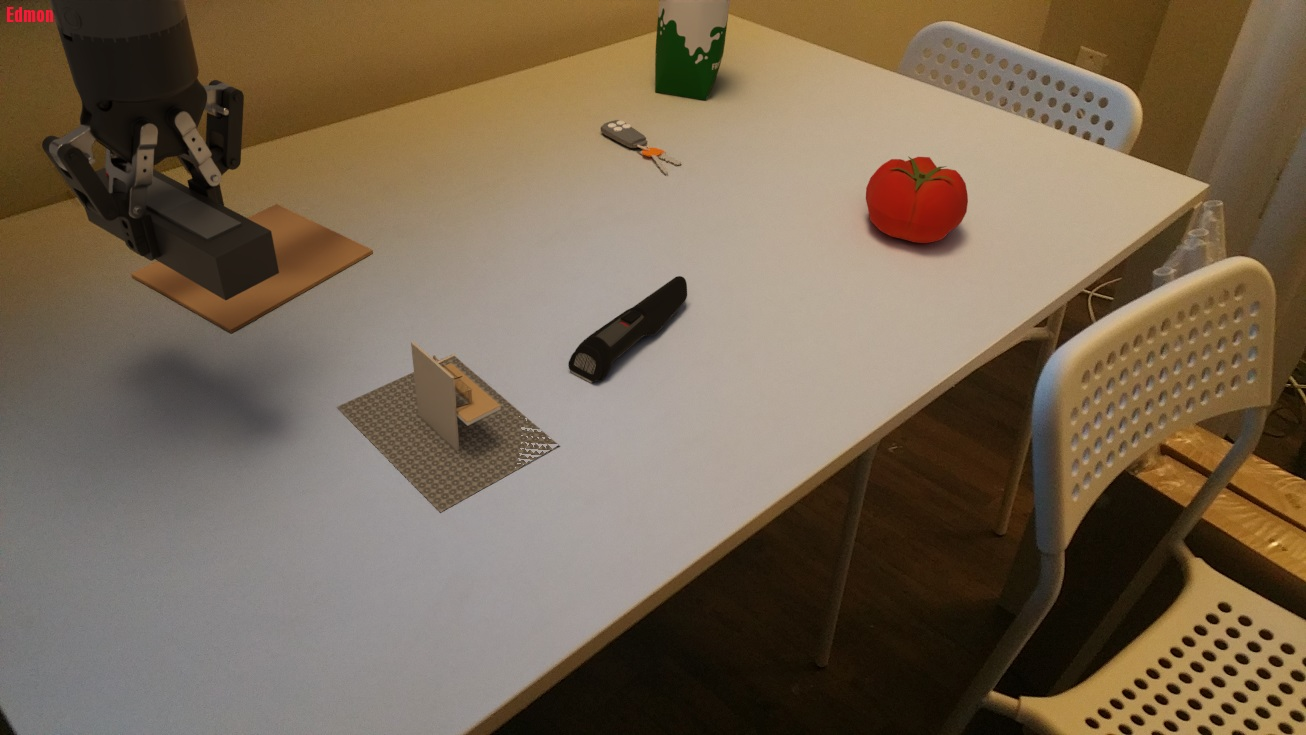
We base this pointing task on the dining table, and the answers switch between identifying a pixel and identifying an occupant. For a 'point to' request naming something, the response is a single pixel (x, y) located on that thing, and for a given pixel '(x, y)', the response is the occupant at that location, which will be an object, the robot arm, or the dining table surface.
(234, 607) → the dining table surface
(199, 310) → the cork mat
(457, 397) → the architectural model
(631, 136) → the key chain
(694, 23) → the milk carton
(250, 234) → the remote
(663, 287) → the electric trimmer
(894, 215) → the tomato
